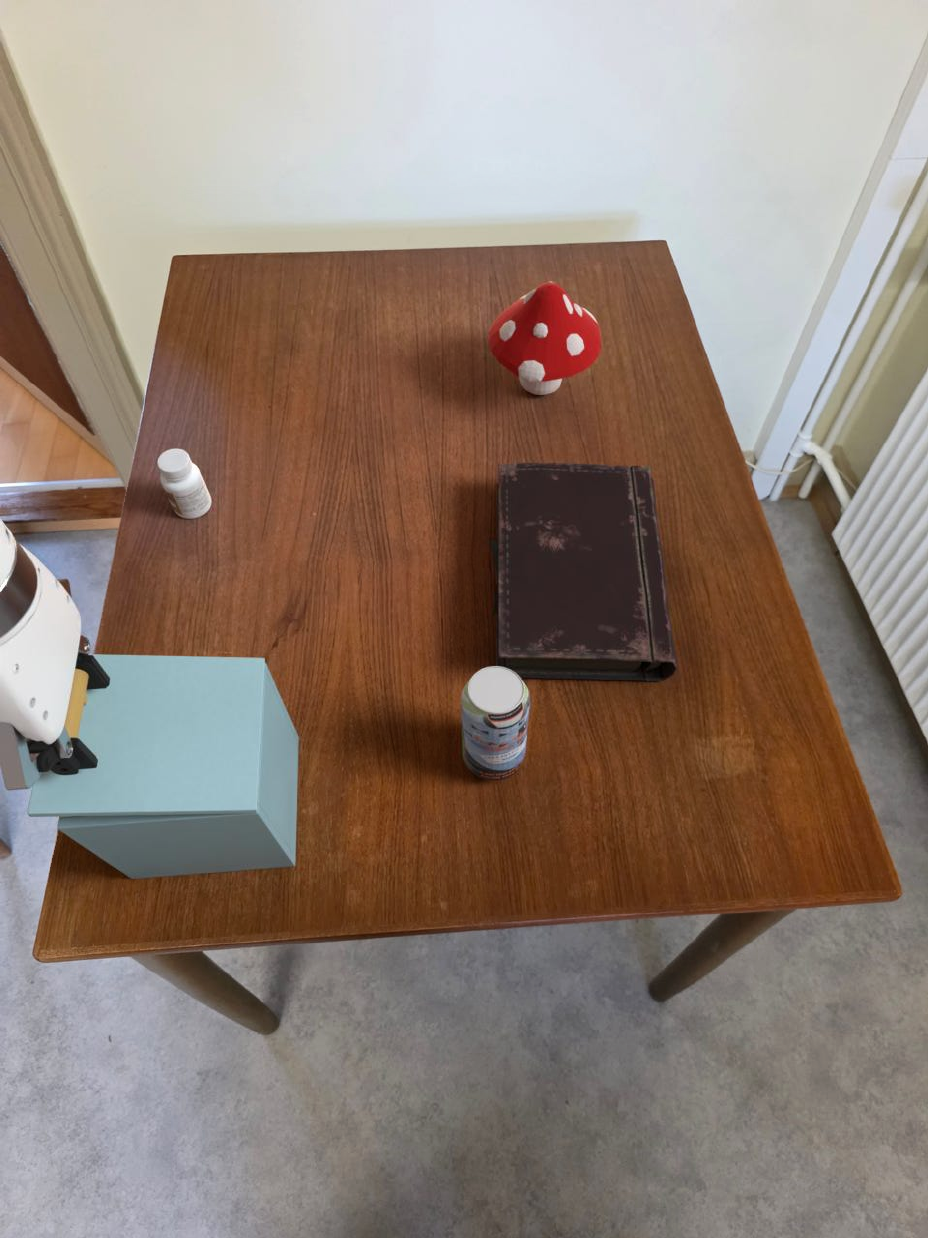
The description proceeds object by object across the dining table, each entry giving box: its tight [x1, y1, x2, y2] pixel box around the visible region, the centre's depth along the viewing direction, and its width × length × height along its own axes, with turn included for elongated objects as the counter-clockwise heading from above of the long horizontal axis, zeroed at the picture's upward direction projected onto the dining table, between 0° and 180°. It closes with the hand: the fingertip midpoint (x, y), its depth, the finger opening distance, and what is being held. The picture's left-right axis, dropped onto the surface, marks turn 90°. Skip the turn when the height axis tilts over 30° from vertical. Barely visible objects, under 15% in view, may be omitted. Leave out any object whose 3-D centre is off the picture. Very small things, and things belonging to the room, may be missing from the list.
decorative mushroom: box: [487, 280, 602, 396], centre depth 98 cm, size 14×14×15 cm
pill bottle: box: [156, 448, 212, 520], centre depth 91 cm, size 4×4×8 cm
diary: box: [489, 462, 678, 682], centre depth 87 cm, size 19×25×5 cm
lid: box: [26, 653, 266, 818], centre depth 59 cm, size 15×13×5 cm
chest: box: [56, 662, 300, 880], centre depth 69 cm, size 15×13×16 cm
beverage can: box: [460, 665, 531, 781], centre depth 74 cm, size 6×7×12 cm
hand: (81, 723), depth 59 cm, fingers closed on lid, 5 cm apart
